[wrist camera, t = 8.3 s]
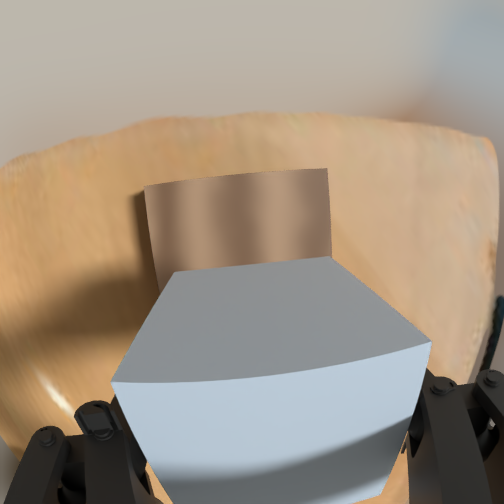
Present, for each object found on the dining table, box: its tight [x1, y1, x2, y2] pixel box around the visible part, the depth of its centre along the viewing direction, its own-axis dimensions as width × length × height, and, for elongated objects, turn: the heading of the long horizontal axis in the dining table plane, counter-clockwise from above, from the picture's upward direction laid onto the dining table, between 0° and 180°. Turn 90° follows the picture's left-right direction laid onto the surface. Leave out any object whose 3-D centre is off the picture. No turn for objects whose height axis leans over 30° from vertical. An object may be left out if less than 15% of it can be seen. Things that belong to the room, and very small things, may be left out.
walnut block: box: [144, 168, 332, 295], centre depth 28 cm, size 16×16×4 cm
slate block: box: [111, 256, 432, 504], centre depth 10 cm, size 7×7×8 cm
